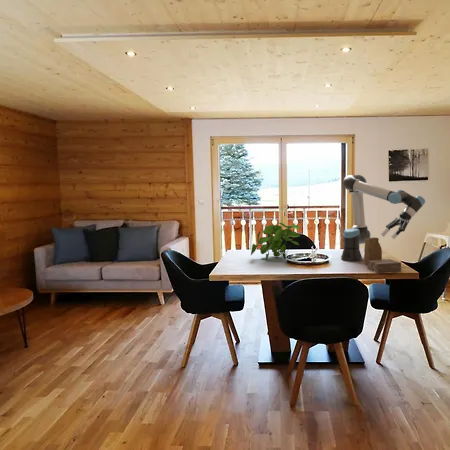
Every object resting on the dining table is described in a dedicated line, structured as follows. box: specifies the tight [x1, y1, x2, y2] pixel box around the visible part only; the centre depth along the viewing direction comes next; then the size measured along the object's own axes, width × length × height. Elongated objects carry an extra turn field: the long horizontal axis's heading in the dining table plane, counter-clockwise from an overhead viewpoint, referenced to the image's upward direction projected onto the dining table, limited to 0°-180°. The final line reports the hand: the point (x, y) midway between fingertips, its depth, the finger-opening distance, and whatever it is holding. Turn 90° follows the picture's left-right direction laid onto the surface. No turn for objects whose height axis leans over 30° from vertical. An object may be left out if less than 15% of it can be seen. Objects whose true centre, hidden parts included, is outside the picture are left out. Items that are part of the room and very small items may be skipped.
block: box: [363, 236, 383, 267], centre depth 287 cm, size 11×8×20 cm
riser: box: [366, 258, 402, 274], centre depth 272 cm, size 14×16×6 cm
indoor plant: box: [250, 222, 303, 261], centre depth 322 cm, size 44×42×30 cm
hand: (387, 236), depth 288 cm, fingers open, 13 cm apart
